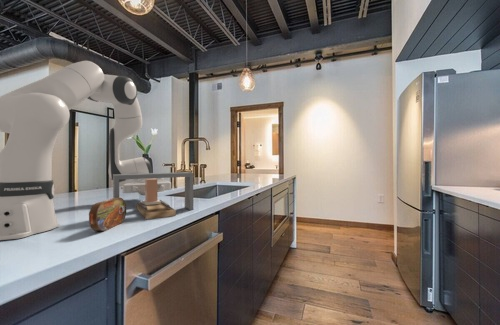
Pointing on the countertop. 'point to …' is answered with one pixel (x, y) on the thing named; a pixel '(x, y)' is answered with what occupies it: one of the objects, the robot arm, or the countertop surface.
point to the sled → (151, 192)
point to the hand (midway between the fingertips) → (150, 188)
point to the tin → (107, 214)
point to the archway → (187, 176)
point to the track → (156, 210)
